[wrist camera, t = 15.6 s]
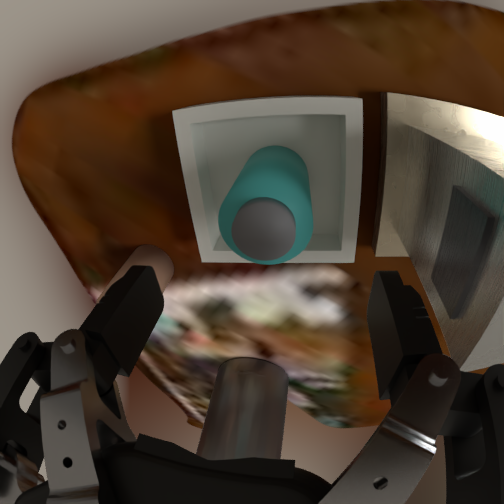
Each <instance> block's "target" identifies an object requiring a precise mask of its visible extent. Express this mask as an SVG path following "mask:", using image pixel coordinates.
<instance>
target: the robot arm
mask: <svg viewBox="0 0 504 504" xmlns="http://www.w3.org/2000/svg"><path fill="white" fill-rule="evenodd" d="M163 308H164V298H163V294H162V291H161V289H160V286H159V283H158V280H157V277H156V273H155V270H154V268H153V267H152V266H146V265H132V266H131V267H130V268H129V270H128V271H127V272H126V273H125V275H124V276H123V277H121V278H120V279H119V280H117V281H116V282H115V283H113V284H112V285H111V286H110V287H109V289H108V290H107V291H106V293H105V296H103V297H102V298H101V299H100V301H99V303H97V305H96V306H95V307H94V309H93V310H92V312H91V313H90V314H89V316H88V317H87V318H86V320H85V321H84V322H83V324H82V325H81V327H80V328H79V329H78V330H77V329H70V330H67V331H64V332H63V333H61V334H60V335H59V336H58V337H57V338H56V339H55V341H54V342H44V343H42V342H41V341H40V339H39V337H38V336H37V335H36V334H35V333H34V332H28V333H25V334H23V335H22V336H20V337H19V338H18V339H17V340H16V341H15V343H14V344H13V346H12V348H11V349H10V350H9V352H8V353H7V355H6V356H5V358H4V360H3V361H2V363H1V364H0V504H404V503H405V502H406V500H407V499H408V497H409V496H410V495H411V493H412V492H413V490H414V488H415V487H416V485H417V484H418V482H419V480H420V479H421V477H422V476H423V474H424V473H425V471H426V469H427V467H428V466H429V464H430V462H431V460H432V458H433V456H434V454H435V451H436V445H434V443H435V440H436V438H437V436H438V435H443V436H444V445H445V458H446V485H447V486H446V487H447V488H446V489H447V490H446V491H447V494H446V495H447V497H446V504H504V365H502V364H495V365H492V366H490V367H489V368H488V369H487V371H486V372H485V373H484V375H482V374H476V373H470V372H464V371H460V369H459V367H458V365H457V364H456V362H455V361H454V360H453V359H451V358H450V357H448V356H446V355H444V354H443V353H442V350H441V348H440V345H439V342H438V339H437V336H436V334H435V331H434V328H433V326H432V323H431V320H430V318H428V316H429V315H428V313H427V310H426V309H425V306H424V303H423V301H422V298H421V296H420V295H419V294H418V292H417V291H416V290H415V289H414V288H413V287H412V286H411V285H403V282H402V280H401V277H400V275H399V273H398V271H376V272H375V275H374V279H373V284H372V288H371V293H370V297H369V302H368V307H367V322H368V327H369V333H370V338H371V344H372V349H373V355H374V362H375V368H376V375H377V382H378V390H379V398H380V400H385V399H390V401H391V409H390V410H389V412H388V413H387V415H386V416H385V418H384V419H383V421H382V422H381V424H380V425H379V426H378V428H377V429H376V431H375V432H374V433H373V435H372V436H371V438H370V439H369V440H368V442H367V443H366V444H365V446H364V447H363V448H362V450H361V451H360V452H359V453H358V455H357V456H356V457H355V458H354V459H353V461H352V462H351V463H350V464H349V465H348V466H347V468H346V469H345V470H344V471H343V472H342V473H341V474H340V476H339V477H338V478H337V479H336V480H335V481H334V482H333V483H332V484H330V483H328V482H327V481H325V480H324V479H322V478H321V477H319V476H317V475H315V474H313V473H311V472H309V471H306V470H304V469H300V468H296V467H295V460H284V459H280V458H281V450H282V441H283V433H284V423H285V414H286V405H287V404H286V403H287V394H288V382H289V378H288V375H287V374H286V372H285V371H284V370H283V369H281V368H280V367H278V366H276V365H274V364H272V363H269V362H267V361H263V360H258V359H251V358H240V359H233V360H229V361H227V362H225V363H223V364H222V365H221V366H220V368H219V370H218V374H217V377H216V381H215V385H214V389H213V392H212V396H211V399H210V403H209V407H208V411H207V414H206V418H205V422H204V426H203V429H202V433H201V437H200V441H199V444H198V448H197V452H196V454H194V453H192V452H190V451H188V450H186V449H184V448H182V447H180V446H178V445H176V444H174V443H172V442H168V441H164V440H160V439H156V438H153V437H150V436H146V435H143V434H139V436H138V439H136V437H135V435H134V434H133V432H132V431H131V429H130V427H129V425H128V423H127V420H126V416H125V412H124V409H123V405H122V401H121V397H120V393H119V388H118V385H117V382H116V380H115V378H116V376H117V374H119V375H123V376H127V377H129V376H130V374H131V372H132V370H133V368H134V366H135V364H136V362H137V360H138V358H139V356H140V354H141V352H142V350H143V348H144V346H145V344H146V342H147V340H148V338H149V336H150V334H151V333H152V331H153V329H154V327H155V325H156V323H157V321H158V319H159V317H160V315H161V314H162V311H163ZM30 378H32V379H33V380H34V381H35V382H36V383H37V384H38V385H39V386H40V387H39V390H38V391H37V393H36V395H35V397H34V399H33V401H32V403H31V405H30V407H29V409H28V411H27V412H26V413H25V412H24V411H23V410H22V409H21V408H20V405H19V399H20V397H21V395H22V393H23V391H24V389H25V387H26V385H27V384H28V382H29V380H30ZM43 459H45V466H46V472H47V478H48V480H47V481H45V480H44V477H43V476H42V475H40V474H39V473H38V472H39V470H40V467H41V464H42V461H43Z"/></svg>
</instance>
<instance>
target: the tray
mask: <svg viewBox="0 0 504 504" xmlns="http://www.w3.org/2000/svg"><path fill="white" fill-rule="evenodd" d="M172 113H173V120H174V126H175V132H176V138H177V143H178V149H179V155H180V160H181V165H182V171H183V176H184V181H185V186H186V191H187V196H188V201H189V206H190V211H191V215H192V220H193V225H194V229H195V234H196V238H197V243H198V247H199V251H200V256H201V260H202V262H244V263H254V262H251V261H248V260H246V259H244V258H242V257H240V256H239V255H237V254H236V253H235V252H233V251H232V250H231V249H230V248H229V247H228V245H227V244H226V243H225V241H224V239H223V238H222V235H221V233H220V230H219V225H218V215H219V210H220V207H221V204H222V202H223V201H224V199H225V197H226V195H227V194H228V192H229V190H230V189H231V187H232V185H233V184H234V182H235V180H236V179H237V177H238V175H239V174H240V172H241V170H242V169H243V167H244V165H245V164H246V162H247V161H248V159H249V158H250V156H251V155H252V154H253V153H255V152H256V151H257V150H259V149H261V148H264V147H267V146H273V145H274V146H283V147H287V148H289V149H291V150H293V151H295V152H296V153H297V154H298V155H299V156H300V157H301V158H302V159H303V161H304V162H305V164H306V167H307V170H308V176H309V185H310V194H311V203H312V213H313V233H312V236H311V239H310V241H309V243H308V245H307V246H306V248H305V249H304V250H303V251H302V252H301V253H300V254H299V255H297V256H296V257H294V258H292V259H291V260H288V261H286V262H283V263H354V258H355V250H356V242H357V232H358V222H359V210H360V197H361V181H362V156H363V102H362V99H361V98H357V97H351V96H277V97H261V98H249V99H238V100H229V101H221V102H214V103H207V104H200V105H194V106H188V107H185V108H181V109H177V110H174V111H172Z"/></svg>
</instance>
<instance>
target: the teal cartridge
mask: <svg viewBox="0 0 504 504" xmlns="http://www.w3.org/2000/svg"><path fill="white" fill-rule="evenodd" d="M218 225H219V230H220V233H221V235H222V238H223V239H224V241H225V243H226V244H227V245H228V247H229V248H230V249H231V250H232V251H233V252H235V253H236V254H237V255H239V256H240V257H242V258H244V259H246V260H248V261H251V262H254V263H258V264H268V265H269V264H279V263H283V262H286V261H288V260H291V259H292V258H294V257H296V256H297V255H299V254H300V253H301V252H302V251H303V250H304V249H305V248H306V246H307V245H308V243H309V241H310V239H311V236H312V233H313V213H312V203H311V194H310V185H309V176H308V170H307V167H306V164H305V162H304V161H303V159H302V158H301V157H300V156H299V155H298V154H297V153H296V152H295V151H293V150H291V149H289V148H287V147H283V146H274V145H273V146H267V147H264V148H261V149H259V150H257V151H256V152H255V153H253V154H252V155H251V156H250V158H249V159H248V161H247V162H246V164H245V165H244V167H243V169H242V170H241V172H240V174H239V175H238V177H237V179H236V180H235V182H234V184H233V185H232V187H231V189H230V190H229V192H228V194H227V195H226V197H225V199H224V201H223V202H222V204H221V207H220V210H219V215H218Z"/></svg>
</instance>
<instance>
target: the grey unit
mask: <svg viewBox="0 0 504 504" xmlns="http://www.w3.org/2000/svg"><path fill="white" fill-rule="evenodd" d="M371 246H372V249H373V252H374V254H375V256H409V257H410V259H411V261H412V263H413V265H414V267H415V269H416V271H417V273H418V276H419V278H420V280H421V282H422V284H423V286H424V289H425V291H426V293H427V295H428V298H429V300H430V302H431V305H432V307H433V310H434V312H435V314H436V317H437V320H438V322H439V325H440V327H441V330H442V333H443V335H444V338H445V341H446V344H447V346H448V349H449V352H450V355H451V358H452V359H453V360H454V361H455V362H456V364H457V365H458V367H459V369H460V371H464V372H468V371H473V370H477V369H481V368H485V367H489V366H492V365H495V364H501V363H504V118H503V117H500V116H497V115H494V114H491V113H488V112H484V111H481V110H477V109H474V108H470V107H466V106H462V105H458V104H453V103H449V102H444V101H439V100H434V99H429V98H423V97H417V96H411V95H404V94H397V93H388V92H381V147H380V168H379V182H378V194H377V205H376V214H375V223H374V231H373V238H372V245H371Z"/></svg>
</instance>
